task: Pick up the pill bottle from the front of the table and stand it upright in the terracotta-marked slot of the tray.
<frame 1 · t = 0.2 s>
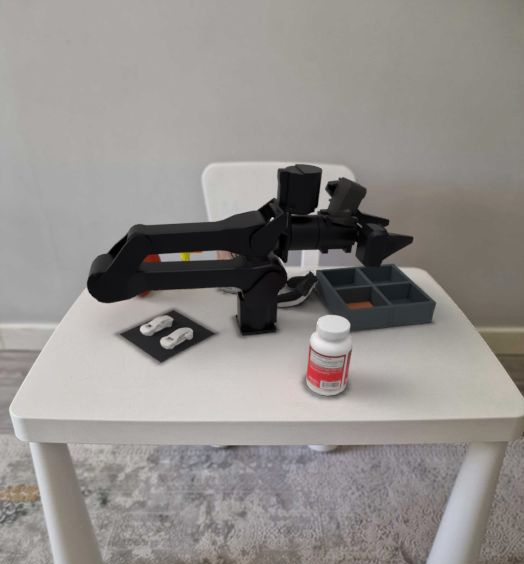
hand: (400, 230, 79), 17 cm above the table, tool horizontal, fingers open, 9 cm apart
tray: (369, 304, 91), on the table
toy figure: (191, 286, 96), on the table
pill bottle: (325, 385, 70), on the table
gaming controller: (295, 299, 92), on the table
apple: (143, 294, 93), on the table
black mat with cars: (167, 334, 81), on the table
beverage can: (239, 286, 97), on the table
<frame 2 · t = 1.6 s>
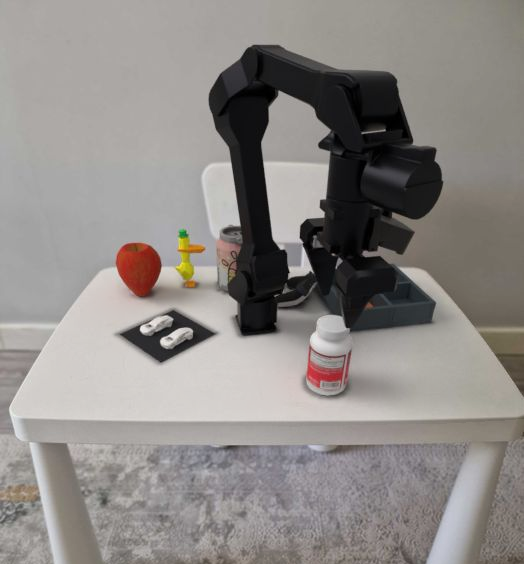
hand: (336, 310, 63), 13 cm above the table, tool pointing down, fingers open, 9 cm apart
nothing on the table moved.
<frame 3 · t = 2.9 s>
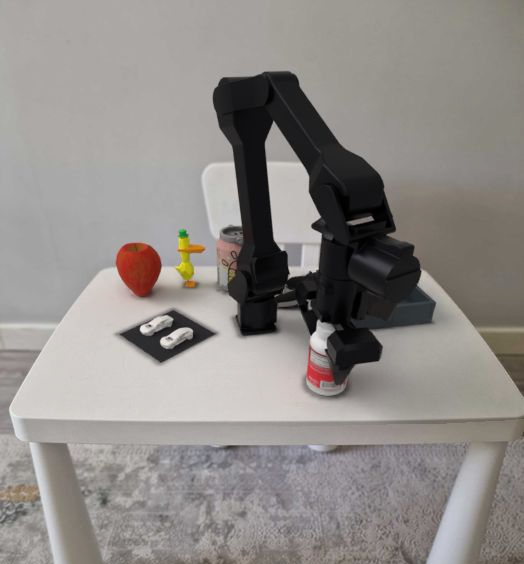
hand: (328, 366, 68), 3 cm above the table, tool pointing down
pill bottle: (325, 385, 70), on the table, touching gripper
everything else where it was.
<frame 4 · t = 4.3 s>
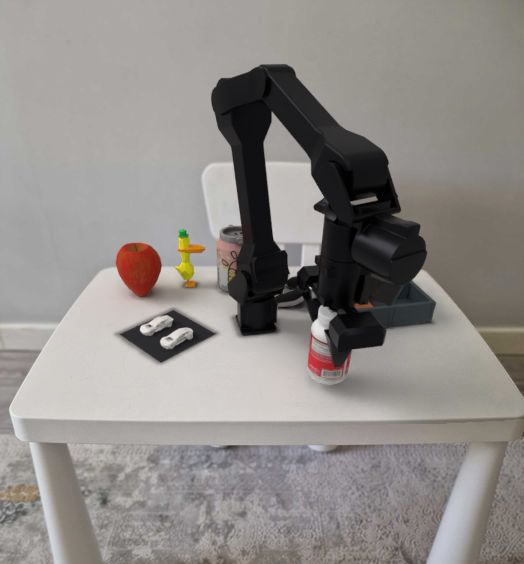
hand: (330, 353, 67), 6 cm above the table, tool pointing down, fingers closed on pill bottle, 6 cm apart
pill bottle: (326, 374, 69), point 2 cm above the table, touching gripper
everything else where it was.
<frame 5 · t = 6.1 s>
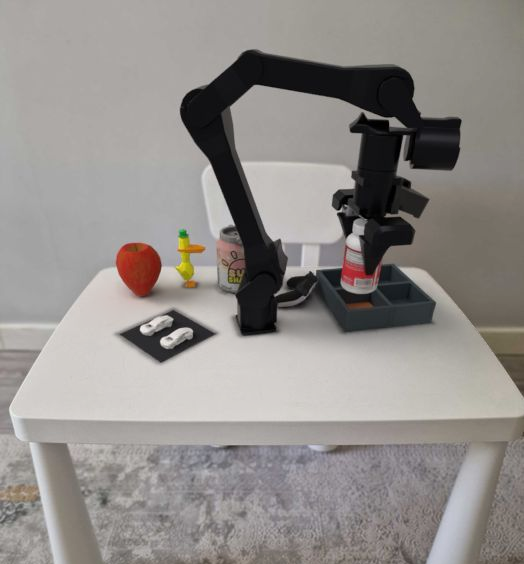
hand: (361, 266, 75), 13 cm above the table, tool pointing down, fingers closed on pill bottle, 6 cm apart
pill bottle: (358, 287, 77), point 9 cm above the table, touching gripper
everything else where it was.
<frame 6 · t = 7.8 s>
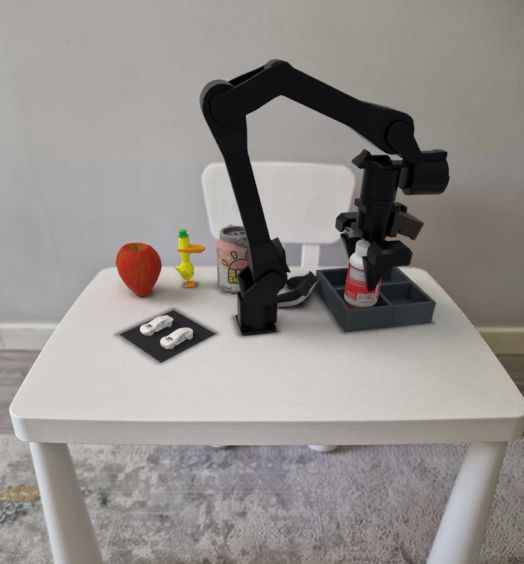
hand: (363, 282, 82), 7 cm above the table, tool pointing down, fingers closed on pill bottle, 6 cm apart
pill bottle: (360, 301, 85), point 3 cm above the table, touching gripper
everything else where it was.
when the fingers open (5 cm above the table, at t = 9.0 s): pill bottle stays where it is, resting on tray.
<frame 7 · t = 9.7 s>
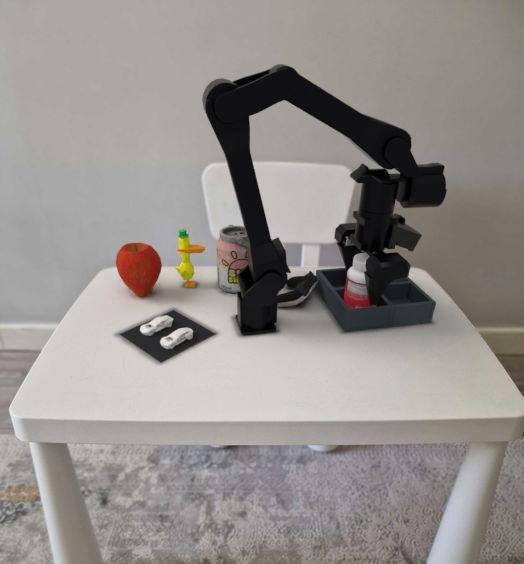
hand: (362, 292, 84), 5 cm above the table, tool pointing down, fingers open, 9 cm apart
pill bottle: (358, 313, 86), point 1 cm above the table, touching tray
everything else where it was.
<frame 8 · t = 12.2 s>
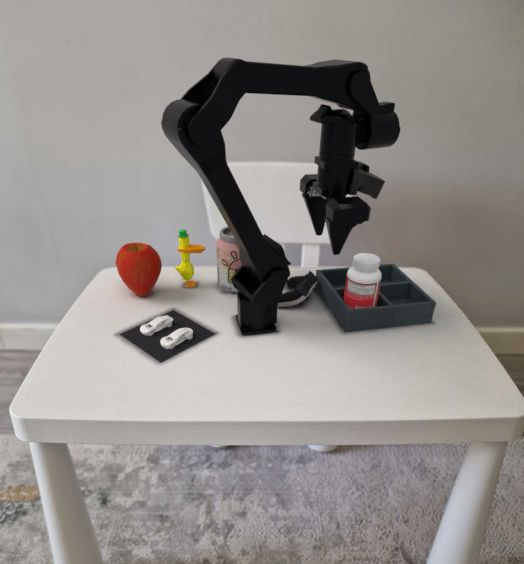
hand: (327, 244, 82), 13 cm above the table, tool pointing down, fingers open, 9 cm apart
nothing on the table moved.
at the end: pill bottle 0.2 cm from the target spot in the tray, point 0.8 cm above the tray's base; pill bottle tilted 0°; the gripper is holding nothing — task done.
